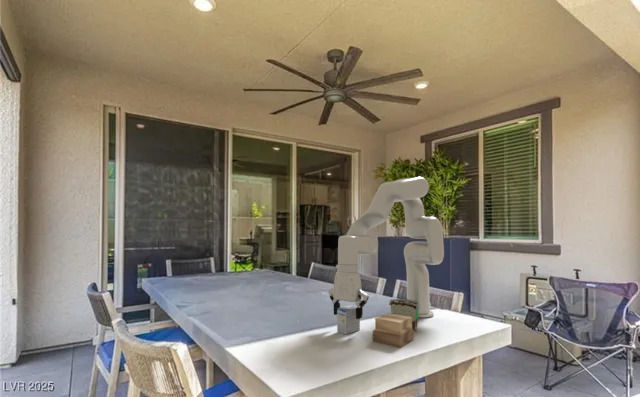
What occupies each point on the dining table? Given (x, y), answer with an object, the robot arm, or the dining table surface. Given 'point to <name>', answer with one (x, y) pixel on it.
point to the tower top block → (393, 324)
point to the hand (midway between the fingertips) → (347, 316)
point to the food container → (406, 309)
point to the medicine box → (347, 320)
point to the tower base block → (393, 338)
